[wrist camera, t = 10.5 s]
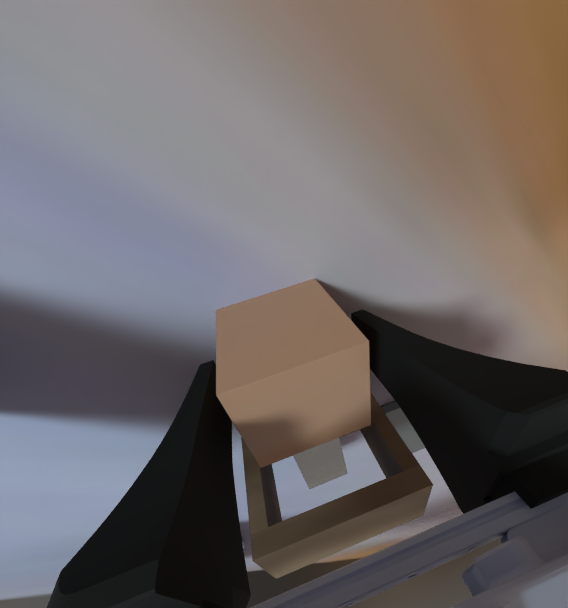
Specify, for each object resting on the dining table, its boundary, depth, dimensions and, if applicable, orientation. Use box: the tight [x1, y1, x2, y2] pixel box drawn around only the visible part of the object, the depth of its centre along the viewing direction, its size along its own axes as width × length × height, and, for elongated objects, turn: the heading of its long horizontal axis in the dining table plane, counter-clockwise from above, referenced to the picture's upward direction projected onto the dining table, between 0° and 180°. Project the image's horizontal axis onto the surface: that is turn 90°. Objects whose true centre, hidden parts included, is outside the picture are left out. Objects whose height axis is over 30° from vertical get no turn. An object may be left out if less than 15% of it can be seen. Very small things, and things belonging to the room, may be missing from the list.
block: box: [216, 279, 371, 468], centre depth 11 cm, size 5×5×5 cm
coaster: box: [381, 401, 425, 453], centre depth 22 cm, size 9×9×1 cm
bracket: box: [241, 392, 433, 579], centre depth 14 cm, size 4×8×7 cm, turn 103°
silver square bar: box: [293, 438, 347, 489], centre depth 16 cm, size 10×3×3 cm, turn 14°
